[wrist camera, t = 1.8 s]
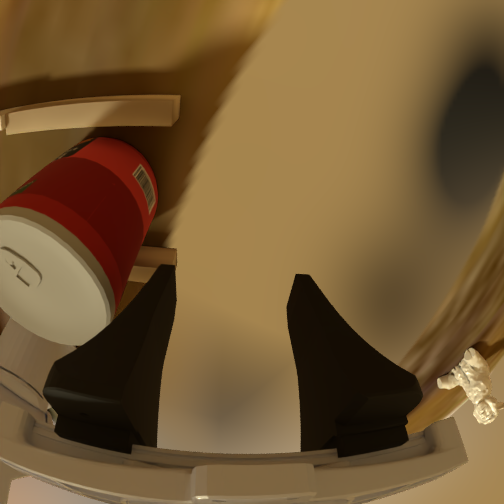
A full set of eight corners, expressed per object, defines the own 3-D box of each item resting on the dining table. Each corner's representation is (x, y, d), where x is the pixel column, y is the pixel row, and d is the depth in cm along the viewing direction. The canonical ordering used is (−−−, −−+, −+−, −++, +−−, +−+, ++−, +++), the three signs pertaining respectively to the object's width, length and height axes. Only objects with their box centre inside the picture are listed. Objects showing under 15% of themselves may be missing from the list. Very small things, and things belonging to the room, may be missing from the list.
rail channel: (177, 264, 24) (172, 285, 22) (49, 252, 23) (37, 270, 21) (180, 95, 17) (172, 100, 15) (24, 105, 15) (4, 114, 13)
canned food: (85, 114, 17) (-24, 182, 8) (182, 171, 20) (139, 281, 11) (52, 200, 20) (-27, 296, 11) (134, 248, 23) (90, 365, 14)
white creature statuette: (469, 345, 36) (500, 409, 26) (495, 344, 37) (524, 399, 27) (433, 381, 41) (456, 441, 31) (462, 377, 42) (484, 430, 33)
